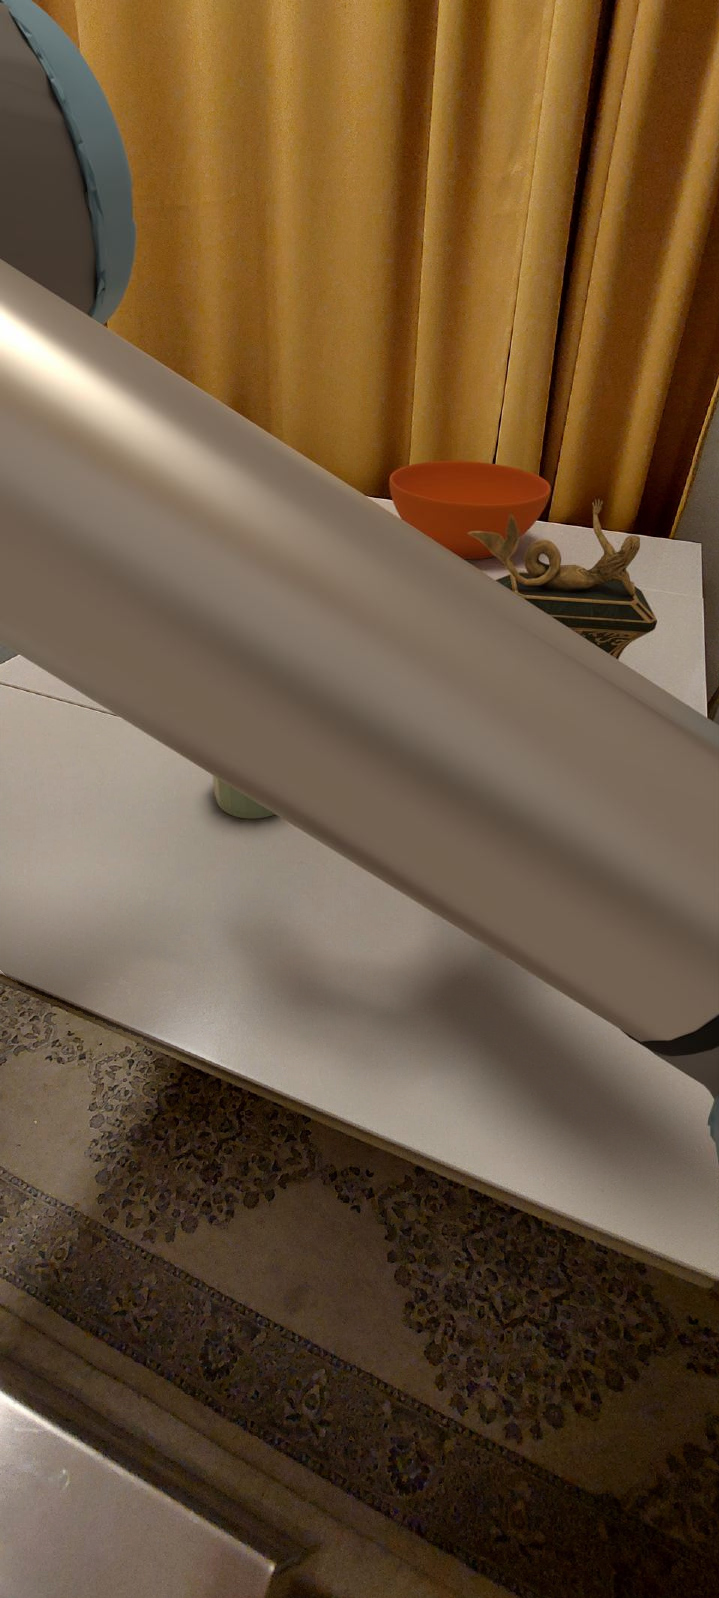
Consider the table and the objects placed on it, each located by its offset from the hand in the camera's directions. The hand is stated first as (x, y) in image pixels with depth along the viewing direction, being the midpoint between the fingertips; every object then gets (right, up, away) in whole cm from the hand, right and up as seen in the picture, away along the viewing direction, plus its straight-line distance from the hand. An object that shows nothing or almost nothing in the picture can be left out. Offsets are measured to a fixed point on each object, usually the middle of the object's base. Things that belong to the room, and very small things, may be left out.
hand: (319, 678), depth 53 cm
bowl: (+20, +33, +72) cm, 81 cm away
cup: (-7, -8, +16) cm, 19 cm away
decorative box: (+23, +5, +34) cm, 42 cm away
